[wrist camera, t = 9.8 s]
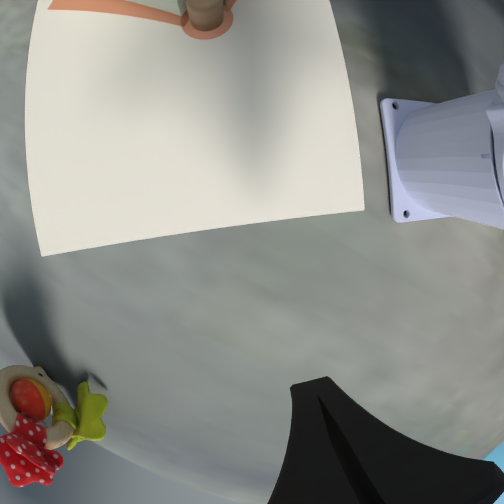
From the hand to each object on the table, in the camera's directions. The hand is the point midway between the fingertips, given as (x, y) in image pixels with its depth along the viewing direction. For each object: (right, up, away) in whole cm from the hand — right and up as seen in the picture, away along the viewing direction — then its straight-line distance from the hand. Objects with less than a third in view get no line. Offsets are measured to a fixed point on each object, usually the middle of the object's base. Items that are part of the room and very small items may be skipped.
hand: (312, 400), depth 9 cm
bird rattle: (-18, -6, +10) cm, 21 cm away
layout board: (-7, +19, +5) cm, 21 cm away
